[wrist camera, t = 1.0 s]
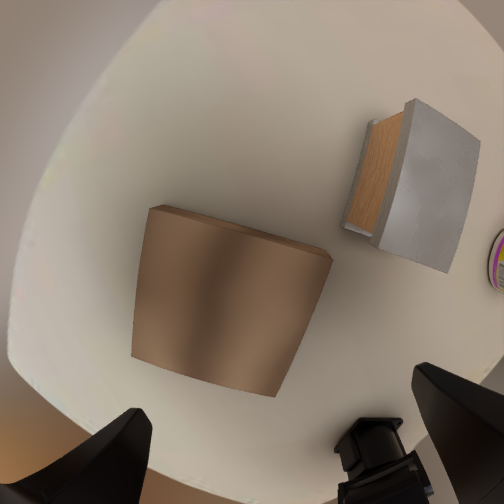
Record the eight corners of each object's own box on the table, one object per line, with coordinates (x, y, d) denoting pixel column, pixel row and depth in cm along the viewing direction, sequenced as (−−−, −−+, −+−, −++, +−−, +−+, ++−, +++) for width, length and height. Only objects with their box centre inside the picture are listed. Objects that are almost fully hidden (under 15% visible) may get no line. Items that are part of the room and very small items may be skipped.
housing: (422, 148, 17) (480, 141, 10) (396, 244, 19) (447, 273, 12) (368, 122, 17) (415, 98, 10) (339, 225, 19) (377, 248, 12)
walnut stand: (324, 250, 19) (333, 259, 17) (274, 378, 22) (275, 397, 20) (163, 204, 19) (149, 208, 16) (142, 340, 22) (131, 356, 19)
